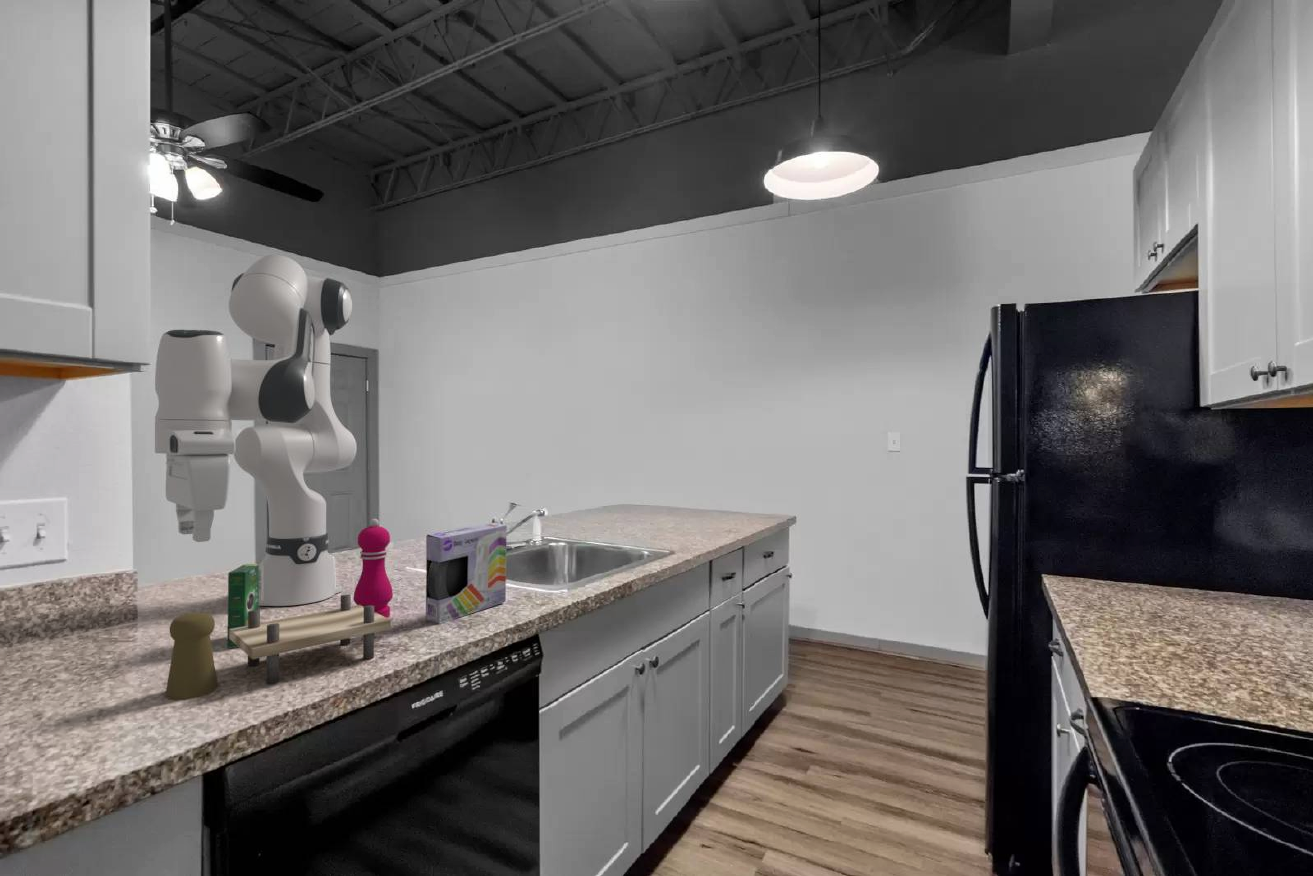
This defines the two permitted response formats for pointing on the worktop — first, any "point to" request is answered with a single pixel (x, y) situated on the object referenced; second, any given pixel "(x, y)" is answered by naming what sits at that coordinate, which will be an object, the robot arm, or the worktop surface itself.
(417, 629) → the worktop surface
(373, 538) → the pepper mill
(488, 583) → the cake pan box
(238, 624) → the coffee box
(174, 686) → the cork
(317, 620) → the spice riser
